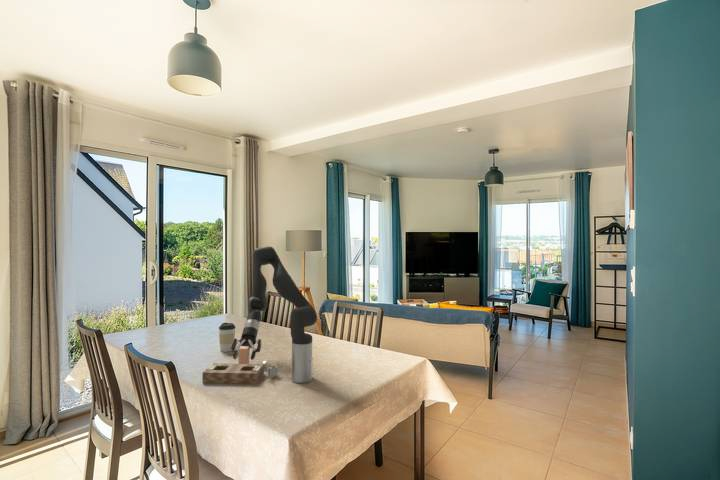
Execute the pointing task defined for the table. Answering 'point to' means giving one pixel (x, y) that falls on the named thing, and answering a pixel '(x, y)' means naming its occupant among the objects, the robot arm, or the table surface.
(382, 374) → the table surface
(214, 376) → the slot holder
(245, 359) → the peg
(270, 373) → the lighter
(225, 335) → the coffee cup
